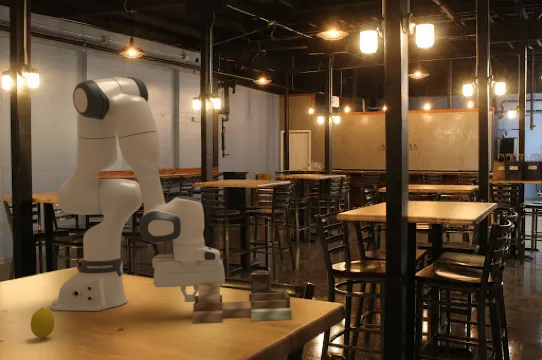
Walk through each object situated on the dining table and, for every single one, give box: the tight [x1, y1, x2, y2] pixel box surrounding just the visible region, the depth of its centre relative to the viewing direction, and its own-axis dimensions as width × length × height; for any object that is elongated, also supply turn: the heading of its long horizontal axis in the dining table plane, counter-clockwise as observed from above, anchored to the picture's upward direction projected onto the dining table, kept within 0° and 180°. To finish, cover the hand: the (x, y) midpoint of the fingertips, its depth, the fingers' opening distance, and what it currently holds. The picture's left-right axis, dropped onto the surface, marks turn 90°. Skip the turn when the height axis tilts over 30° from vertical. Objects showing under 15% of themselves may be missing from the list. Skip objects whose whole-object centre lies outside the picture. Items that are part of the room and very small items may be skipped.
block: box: [197, 283, 221, 303], centre depth 164 cm, size 6×6×7 cm
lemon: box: [30, 307, 55, 340], centre depth 143 cm, size 6×6×8 cm
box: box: [250, 270, 272, 294], centre depth 188 cm, size 6×6×7 cm
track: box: [192, 288, 292, 324], centre depth 165 cm, size 27×16×6 cm, turn 95°
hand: (189, 301), depth 163 cm, fingers closed
